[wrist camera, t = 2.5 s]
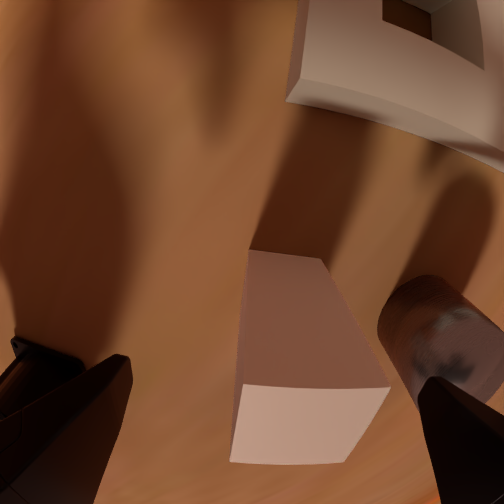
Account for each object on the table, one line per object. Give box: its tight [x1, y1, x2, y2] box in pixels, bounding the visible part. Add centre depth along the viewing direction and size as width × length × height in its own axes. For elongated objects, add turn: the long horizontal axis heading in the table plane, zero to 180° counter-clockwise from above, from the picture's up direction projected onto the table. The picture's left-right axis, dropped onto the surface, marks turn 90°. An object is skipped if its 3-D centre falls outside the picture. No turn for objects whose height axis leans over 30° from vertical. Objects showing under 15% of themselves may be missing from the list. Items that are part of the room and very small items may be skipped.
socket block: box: [285, 0, 504, 173], centre depth 7 cm, size 16×10×4 cm, turn 82°
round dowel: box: [377, 275, 504, 413], centre depth 11 cm, size 5×5×6 cm
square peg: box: [229, 249, 391, 465], centre depth 10 cm, size 3×3×8 cm
